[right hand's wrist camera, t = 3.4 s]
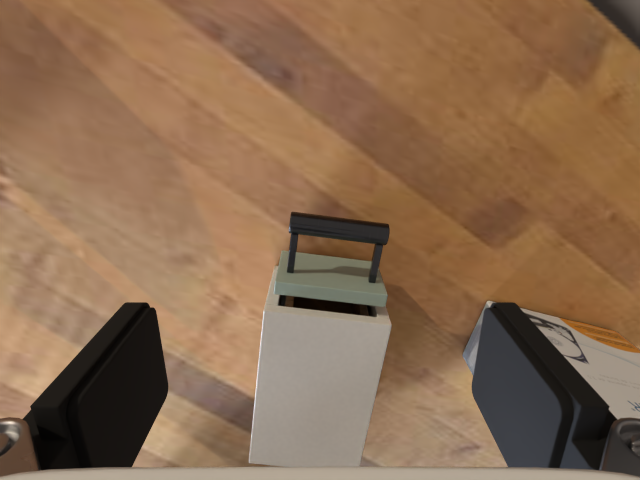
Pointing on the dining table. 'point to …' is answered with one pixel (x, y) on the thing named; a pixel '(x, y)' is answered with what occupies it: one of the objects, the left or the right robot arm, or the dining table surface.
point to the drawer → (332, 267)
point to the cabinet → (315, 384)
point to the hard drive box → (587, 358)
